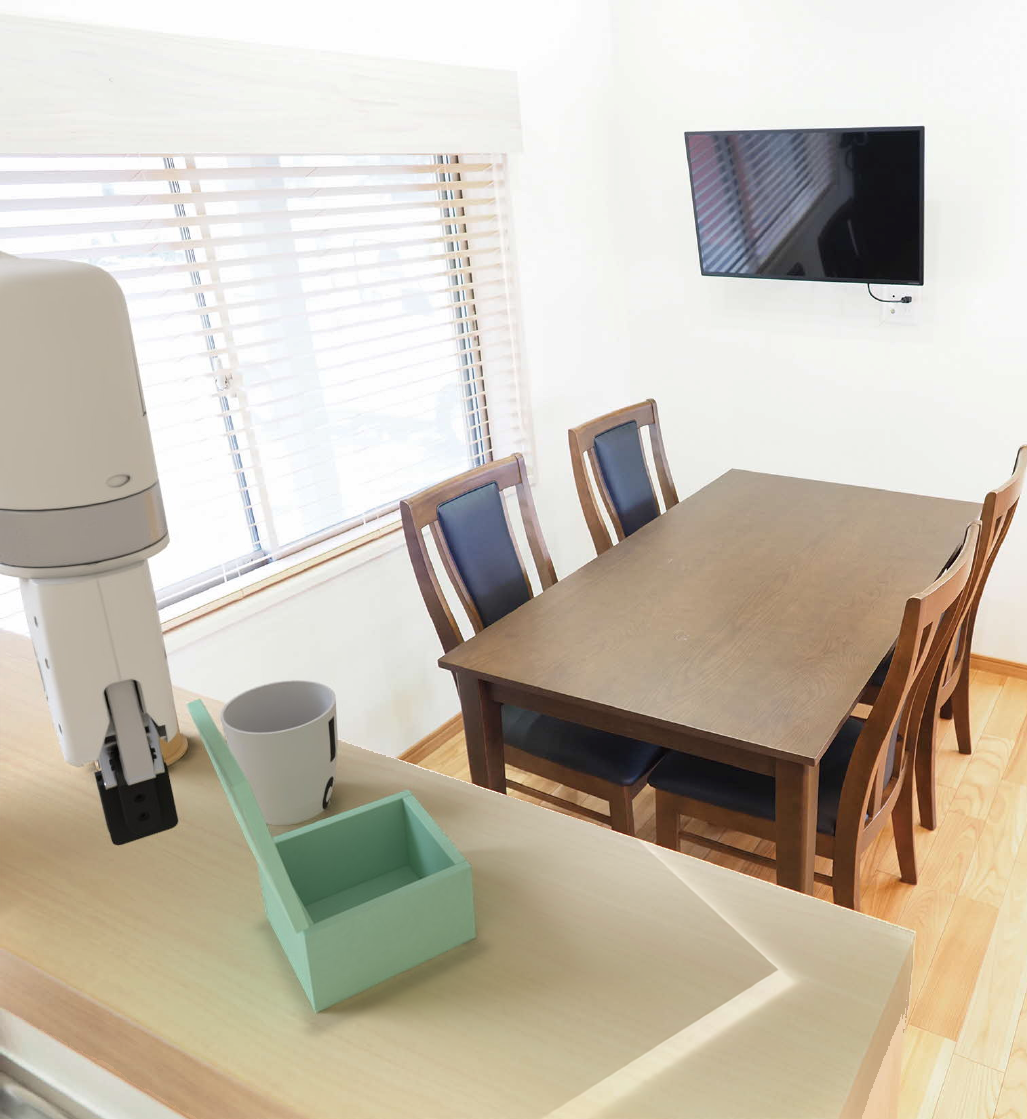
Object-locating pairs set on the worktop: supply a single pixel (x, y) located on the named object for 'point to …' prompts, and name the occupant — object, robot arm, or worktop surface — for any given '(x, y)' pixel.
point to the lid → (248, 815)
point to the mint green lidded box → (370, 897)
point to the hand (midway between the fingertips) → (144, 828)
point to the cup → (285, 747)
